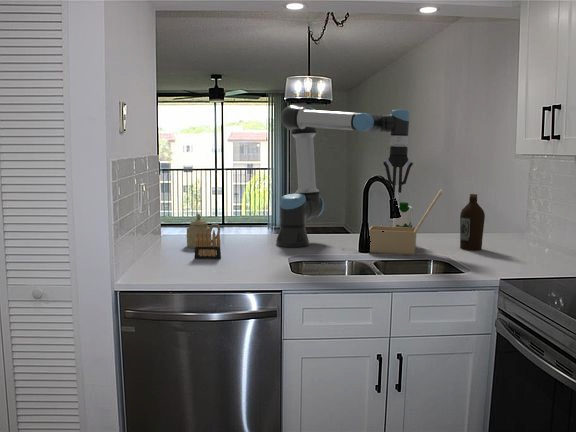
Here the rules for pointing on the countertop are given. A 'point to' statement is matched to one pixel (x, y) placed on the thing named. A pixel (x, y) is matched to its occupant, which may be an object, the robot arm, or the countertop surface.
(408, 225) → the milk carton
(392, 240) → the carton
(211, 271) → the countertop surface
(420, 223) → the carton flap
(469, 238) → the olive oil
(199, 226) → the sugar bowl
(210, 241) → the ammunition clip
